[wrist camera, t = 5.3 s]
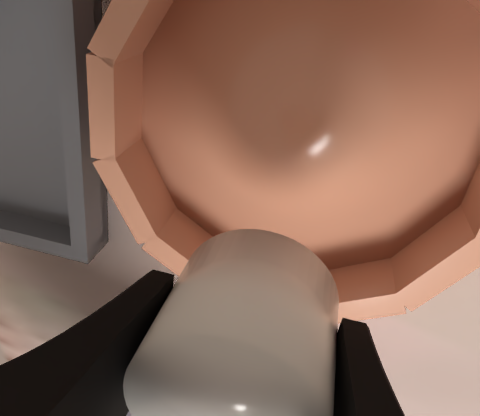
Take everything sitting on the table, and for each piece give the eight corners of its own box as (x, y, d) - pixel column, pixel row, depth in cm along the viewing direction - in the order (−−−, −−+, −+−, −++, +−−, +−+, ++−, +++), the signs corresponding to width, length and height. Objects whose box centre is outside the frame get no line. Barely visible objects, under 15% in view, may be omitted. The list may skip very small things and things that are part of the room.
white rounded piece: (319, 370, 14) (306, 505, 10) (179, 332, 14) (123, 447, 11) (357, 251, 11) (358, 373, 8) (189, 212, 12) (122, 309, 9)
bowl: (433, 312, 20) (444, 363, 17) (126, 237, 22) (96, 273, 19) (613, -76, 13) (679, -87, 10) (124, -136, 15) (75, -158, 12)
